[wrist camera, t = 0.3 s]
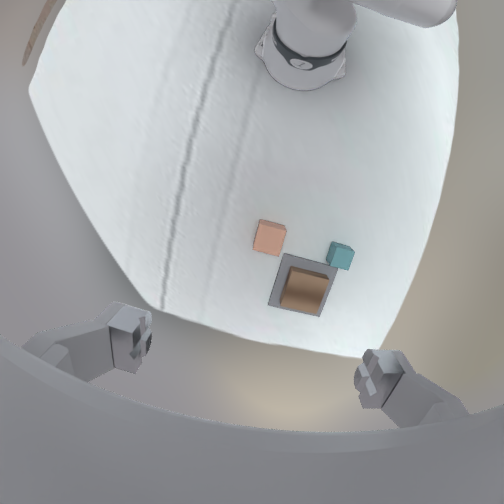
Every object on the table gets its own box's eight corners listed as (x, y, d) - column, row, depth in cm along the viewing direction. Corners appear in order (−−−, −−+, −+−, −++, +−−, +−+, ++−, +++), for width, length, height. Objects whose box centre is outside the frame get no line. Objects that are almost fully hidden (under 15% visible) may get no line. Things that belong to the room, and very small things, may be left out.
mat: (283, 253, 56) (284, 254, 56) (337, 267, 57) (338, 268, 56) (268, 304, 60) (268, 305, 59) (318, 315, 60) (319, 316, 59)
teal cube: (332, 241, 55) (336, 246, 51) (349, 246, 55) (355, 252, 51) (326, 259, 56) (330, 265, 52) (343, 263, 56) (348, 270, 53)
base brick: (290, 265, 56) (292, 270, 53) (326, 274, 56) (329, 280, 54) (279, 299, 58) (280, 305, 56) (314, 307, 59) (316, 314, 56)
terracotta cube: (260, 219, 54) (259, 223, 50) (284, 225, 55) (286, 231, 50) (253, 242, 56) (252, 249, 51) (277, 248, 56) (278, 256, 51)
